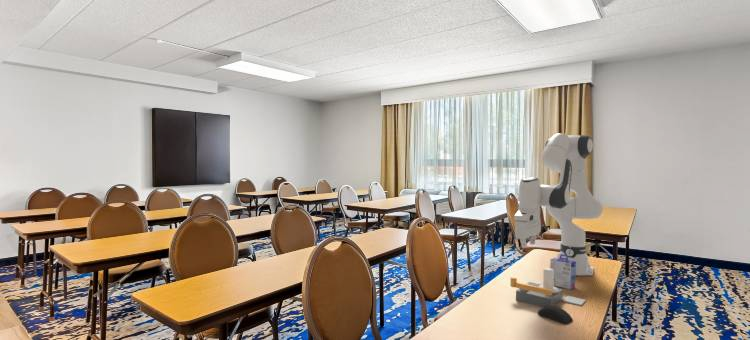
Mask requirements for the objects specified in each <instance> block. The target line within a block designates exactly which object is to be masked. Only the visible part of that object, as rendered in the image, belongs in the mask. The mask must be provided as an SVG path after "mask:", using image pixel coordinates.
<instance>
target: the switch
mask: <svg viewBox="0 0 750 340" xmlns="http://www.w3.org/2000/svg"><path fill="white" fill-rule="evenodd" d="M526 284H529V285H532V286H536V287H538V286H540V285H542V284H540V283H536V282H531V281H528V282H527V283H526ZM557 288H558V287H557ZM563 290H564V288H560V287H559V288H558V293H554V294H552V295H551V296H550V295H546V294H542V293H537V292H533V291H529V290H524V289H520V288H517V289H516V290H515V300H516V301H517V302H523V303H525V304H529V305H534V306H538V307H542V308H544V307H545V306H557V304H559V302H560V301H563V299H564V298H563V297H564V296H563V295H564V294H563V293H564V291H563Z"/></svg>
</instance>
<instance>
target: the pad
mask: <svg viewBox="0 0 750 340" xmlns="http://www.w3.org/2000/svg"><path fill="white" fill-rule="evenodd" d="M562 302H563V303H567V304H569V305H570V304H571V305H575V306H578V307H582V306H583V305H584V303H586V299H585V298H579V297H575V296H571V295H567V296H565V297H564V298H563V299H562Z"/></svg>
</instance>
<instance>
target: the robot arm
mask: <svg viewBox="0 0 750 340" xmlns="http://www.w3.org/2000/svg"><path fill="white" fill-rule="evenodd" d="M593 148H594V142H593V140H592V137H590V136H589V135H585V134H581V135H577V134H572V135H567V134H566V133H561V132H560V133H556V134H553V135H552V136H551V137H550V138H548V139H547V140H546V141H545V145H544V149H543V151H542V153H541V162H542V164H543V165H544V166H545V167H546V168H547V169H548V170H550V171H552V172H556V173H558V174H559V177H558V178H559V179H558V183H556V184H543V183H542V184H541V183H540V179H539V178H538V177H535V176H534V177H531V176H530V177H529V176H528V177H523V178H521V179H520V181H519V185H518V186H519V187H518V200H519V203H518V207H517V208H518V210H517V212H516V213H515V214H514V215H513V220H514V221H515V222H514V235H515V238H516V239H519V241H520V243H521V244H520V245H521V248H522V249H526V248H528V246H527V245H528V244H527V239H528V238H530V240H529V244H530V245H532V246H533V245H535V244H536V240H537V235H538V234H540V233H541V232H542V222H541V207H546V210H547V213H548V214H549V216H550V217H552V218H553V219H554V220H555V221H556V222H557V223H558V225H559V227H560V235H561V242H560V245H559V246H560V247H559V248H560V249H559V250H560V251H559V252H558V253H557V254H556V256H557V257H556V258H560V255H561V254H563V255H568V260H570V261H575V262H576V276H594V268H595V267H594V266H592V265H591V264H590V258H589V256H588V254H587V244H586V231H585V229H584V228H583V227H581V226H580V225H577V224H575V223H574V222H573V220H574V219H576V220H593V219H599V218H600V217H601V216H602V213H603V204H602V203H601V202H600V200H599V199H597V198H596V197H594V196H593V194H592V193H591V191H590V190H589V186H588V180H587V179H588V178H587V177H588V176H587V175H588V173H587V169H588V166H587V157H589V156H590V154H592V152H593V150H594V149H593ZM570 191H571V192H573V193H574V194H575V196H573V197H572V196H570V193H571V192H570ZM561 257H562V258H567V257H565V256H561Z"/></svg>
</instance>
